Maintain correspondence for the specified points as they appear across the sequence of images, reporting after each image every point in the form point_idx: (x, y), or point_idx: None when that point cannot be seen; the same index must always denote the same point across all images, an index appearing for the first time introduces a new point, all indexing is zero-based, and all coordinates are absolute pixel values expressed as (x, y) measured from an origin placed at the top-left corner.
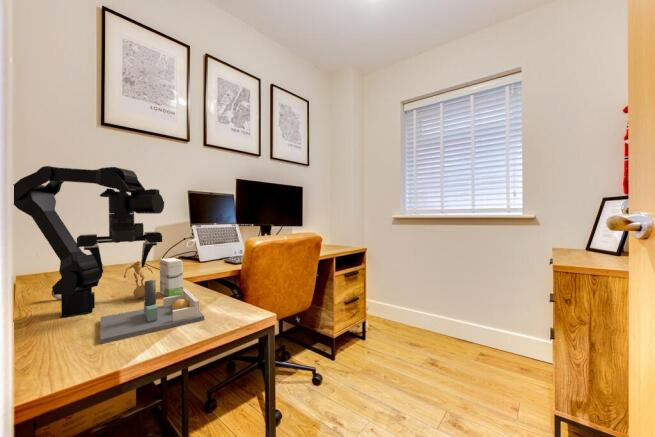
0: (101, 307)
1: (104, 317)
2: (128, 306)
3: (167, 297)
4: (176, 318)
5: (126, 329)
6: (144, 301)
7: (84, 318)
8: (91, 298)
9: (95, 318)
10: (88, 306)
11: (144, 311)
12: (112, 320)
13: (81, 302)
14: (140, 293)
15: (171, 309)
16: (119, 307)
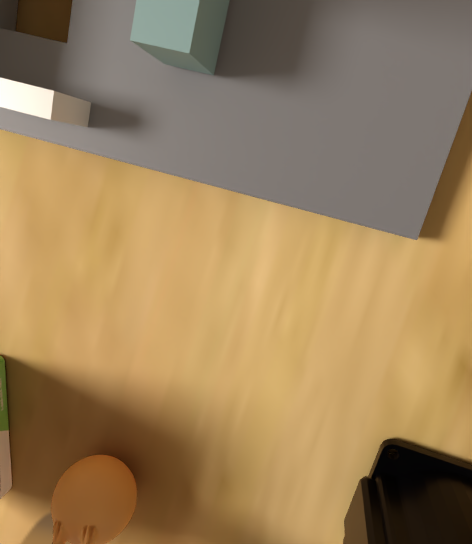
0: (314, 490)
1: (404, 211)
2: (211, 379)
3: (27, 104)
4: None
5: None
6: (188, 39)
7: (449, 369)
8: (386, 527)
9: (410, 314)
10: (396, 491)
11: (215, 45)
12: (398, 95)
13: (449, 517)
14: (107, 469)
15: (72, 12)
16: (250, 404)
